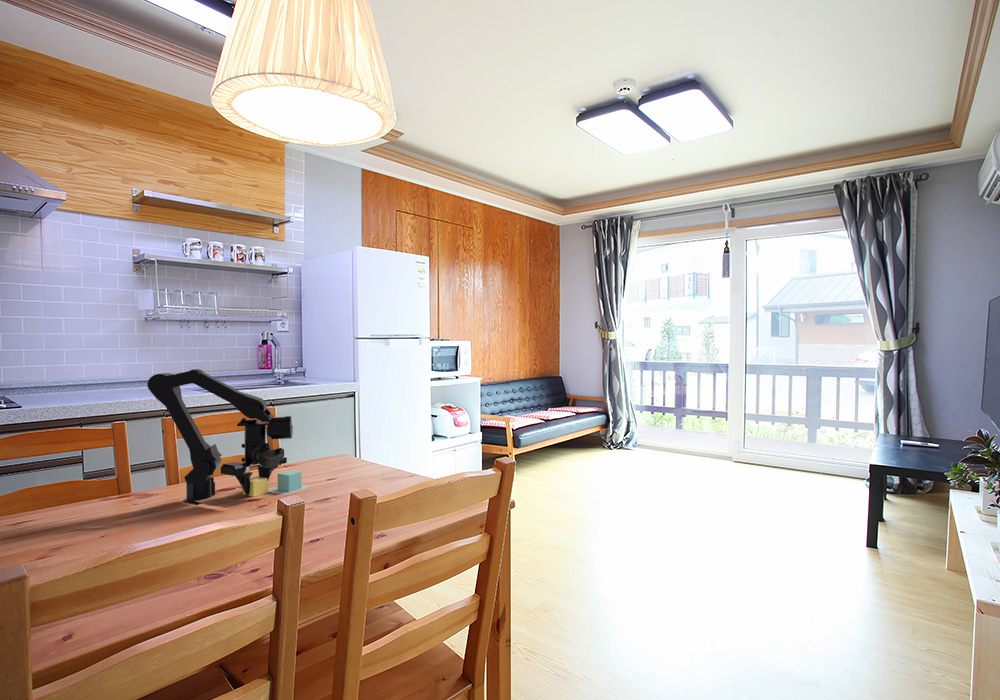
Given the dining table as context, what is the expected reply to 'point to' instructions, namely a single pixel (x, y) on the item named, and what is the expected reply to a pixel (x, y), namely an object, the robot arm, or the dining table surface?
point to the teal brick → (289, 481)
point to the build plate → (275, 490)
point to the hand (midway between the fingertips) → (255, 492)
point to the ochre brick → (257, 486)
